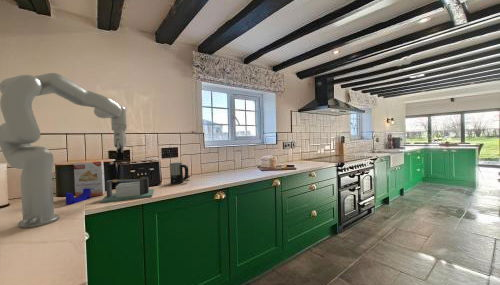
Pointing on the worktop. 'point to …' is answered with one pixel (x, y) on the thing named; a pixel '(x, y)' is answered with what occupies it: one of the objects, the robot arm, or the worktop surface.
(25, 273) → the worktop surface
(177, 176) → the milk frother
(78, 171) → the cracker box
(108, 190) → the heatsink board
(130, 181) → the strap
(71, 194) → the cable clip
